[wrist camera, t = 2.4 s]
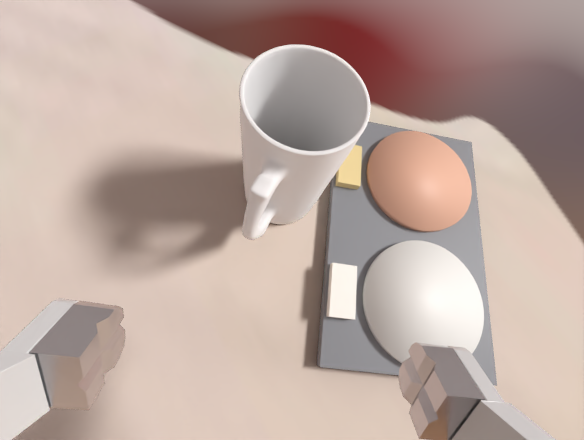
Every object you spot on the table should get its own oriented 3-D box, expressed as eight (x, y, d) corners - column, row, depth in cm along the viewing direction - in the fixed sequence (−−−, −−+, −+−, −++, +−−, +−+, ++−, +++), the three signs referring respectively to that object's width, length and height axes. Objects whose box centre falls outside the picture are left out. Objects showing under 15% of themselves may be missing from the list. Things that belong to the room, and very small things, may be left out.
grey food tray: (316, 364, 22) (322, 368, 20) (335, 122, 29) (340, 110, 28) (486, 382, 24) (505, 387, 22) (464, 147, 31) (477, 137, 29)
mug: (263, 145, 27) (276, 25, 16) (328, 177, 27) (387, 79, 16) (207, 240, 24) (174, 170, 13) (282, 276, 24) (316, 239, 13)
